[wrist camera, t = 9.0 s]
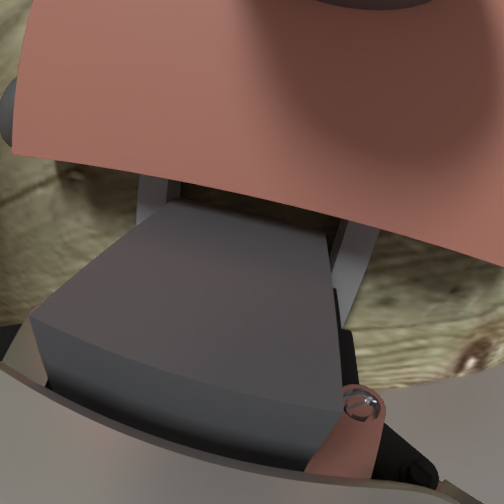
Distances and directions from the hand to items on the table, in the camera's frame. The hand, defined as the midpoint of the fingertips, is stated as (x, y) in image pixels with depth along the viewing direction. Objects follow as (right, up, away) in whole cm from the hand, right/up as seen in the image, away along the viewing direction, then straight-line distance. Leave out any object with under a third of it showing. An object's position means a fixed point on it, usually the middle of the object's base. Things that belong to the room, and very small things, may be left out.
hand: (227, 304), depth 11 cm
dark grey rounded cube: (0, 0, +1) cm, 1 cm away
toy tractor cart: (+2, +9, -1) cm, 9 cm away
